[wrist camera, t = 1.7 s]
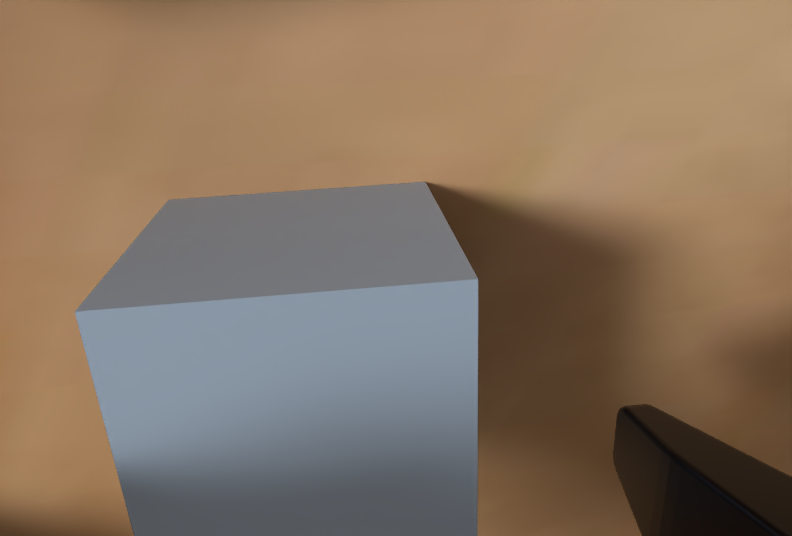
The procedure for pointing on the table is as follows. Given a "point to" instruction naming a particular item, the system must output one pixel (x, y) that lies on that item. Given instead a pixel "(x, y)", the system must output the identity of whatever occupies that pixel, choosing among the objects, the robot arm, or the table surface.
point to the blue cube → (291, 366)
